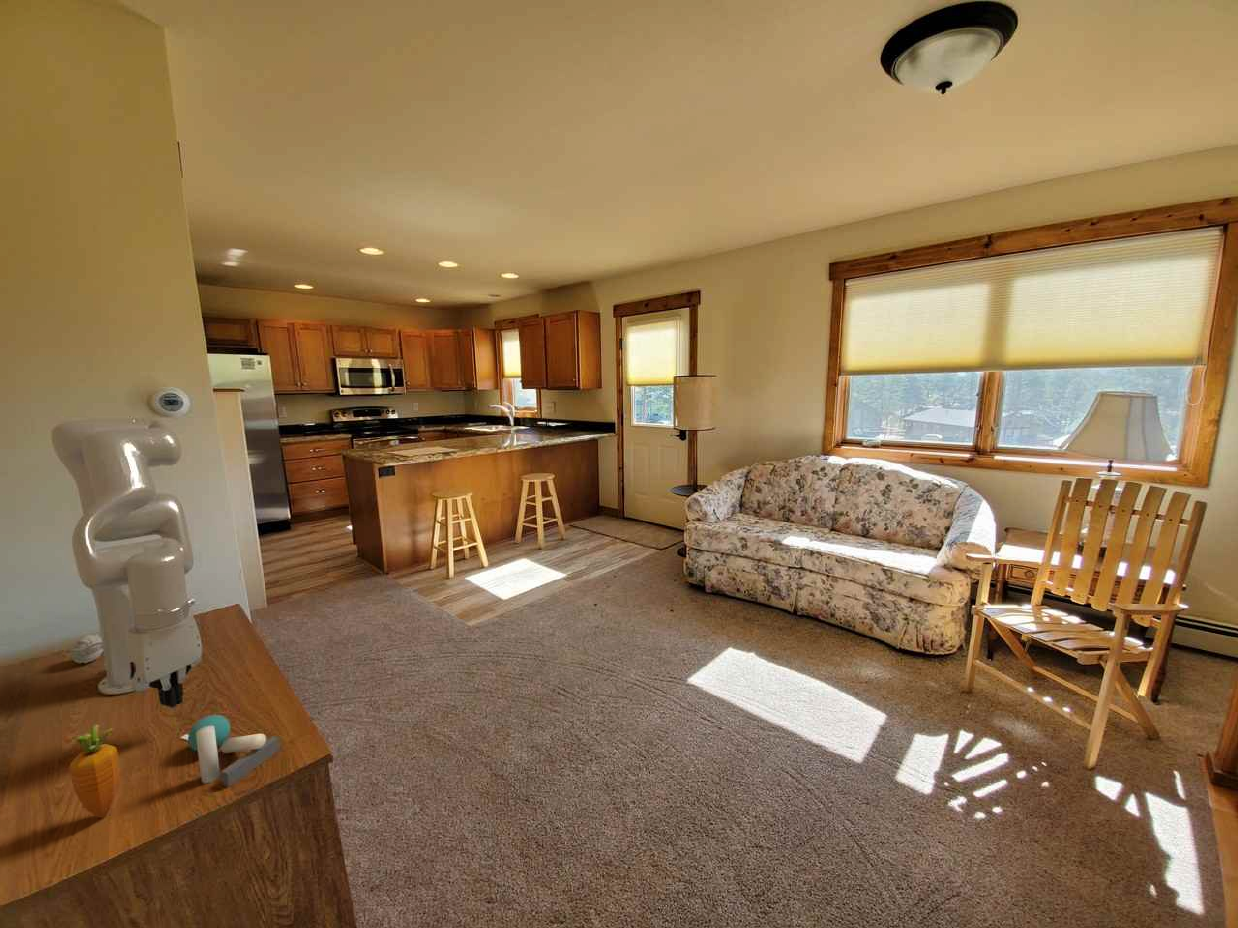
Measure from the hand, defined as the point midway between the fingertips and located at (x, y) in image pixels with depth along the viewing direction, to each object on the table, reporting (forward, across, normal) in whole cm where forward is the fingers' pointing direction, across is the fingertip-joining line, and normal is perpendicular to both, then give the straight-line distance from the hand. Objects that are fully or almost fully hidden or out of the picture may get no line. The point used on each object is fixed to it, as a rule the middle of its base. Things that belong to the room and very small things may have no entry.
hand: (172, 703), depth 93 cm
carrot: (+6, +16, +11) cm, 21 cm away
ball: (+3, +1, +11) cm, 11 cm away
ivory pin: (+4, 0, +15) cm, 16 cm away
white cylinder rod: (+5, +6, +19) cm, 20 cm away
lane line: (+6, 0, +7) cm, 9 cm away
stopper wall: (+5, +2, +23) cm, 24 cm away
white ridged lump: (+9, -10, -48) cm, 50 cm away
